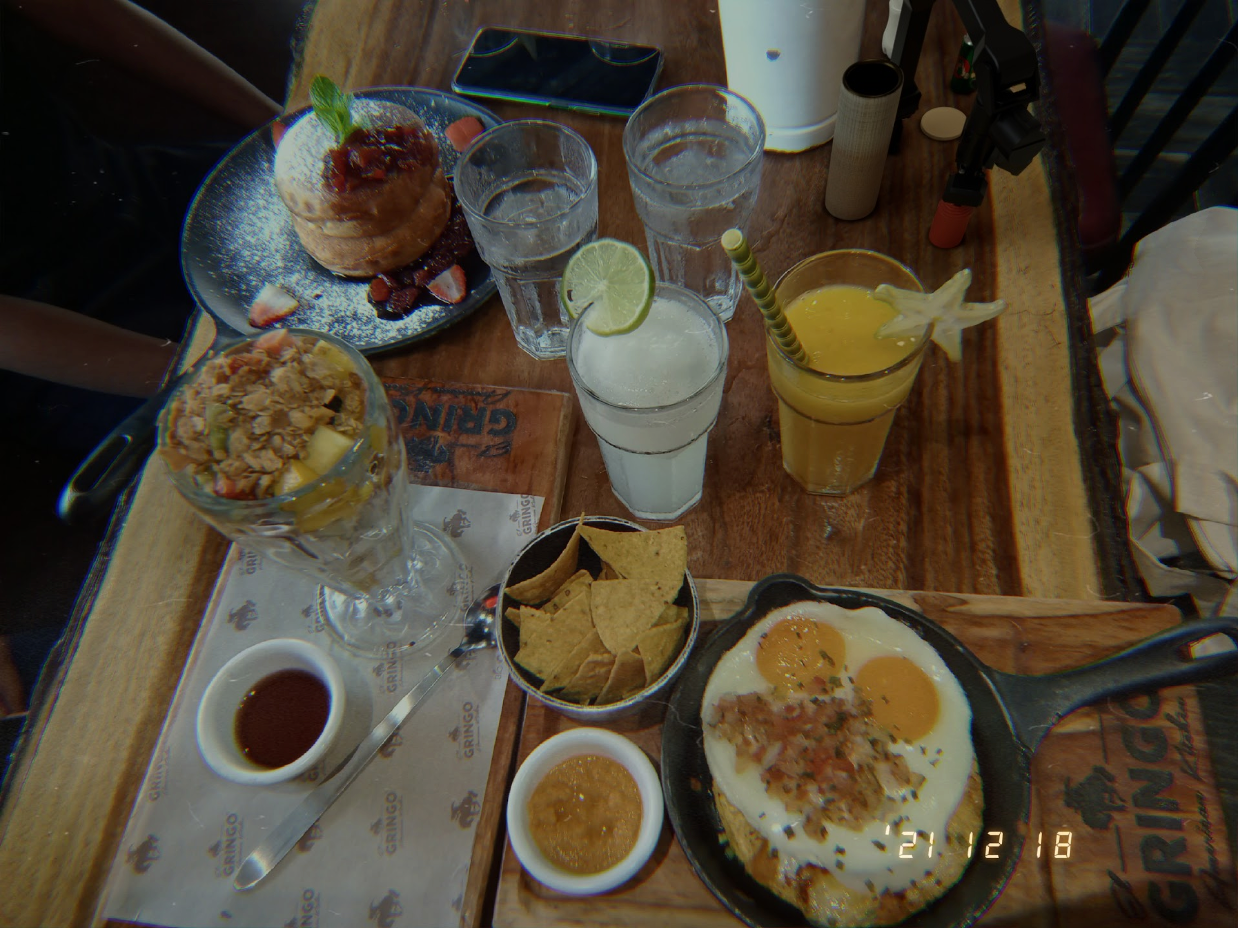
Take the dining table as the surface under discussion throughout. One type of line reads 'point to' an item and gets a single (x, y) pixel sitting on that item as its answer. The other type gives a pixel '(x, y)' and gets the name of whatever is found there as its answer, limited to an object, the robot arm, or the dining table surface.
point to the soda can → (963, 68)
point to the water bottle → (891, 26)
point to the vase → (862, 136)
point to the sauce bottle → (949, 224)
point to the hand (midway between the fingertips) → (960, 198)
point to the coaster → (943, 123)
